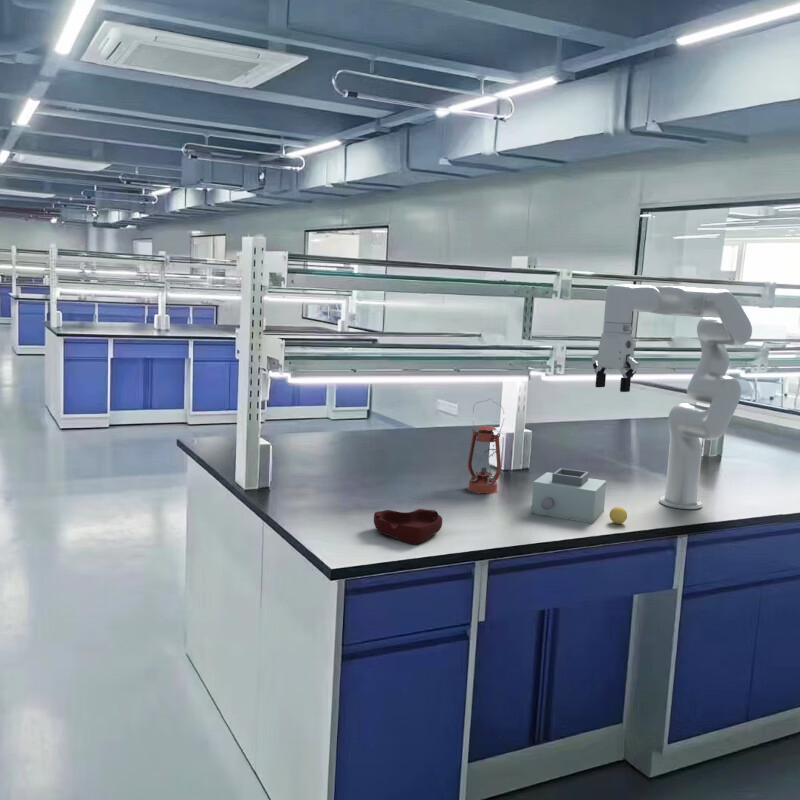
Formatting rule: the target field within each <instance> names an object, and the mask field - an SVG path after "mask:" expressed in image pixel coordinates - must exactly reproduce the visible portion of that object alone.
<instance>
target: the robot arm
mask: <svg viewBox="0 0 800 800" xmlns="http://www.w3.org/2000/svg"><path fill="white" fill-rule="evenodd" d="M604 301H605V304H604V314H603V328H602V333H601V336H600V339H599V345H598V351H597V354H595V355H593V356H591V361H592V366H593V369H594V374H595V375H596V376H595V388H605V387H606V377H607V374H606V371H607V369H608V370H614V371H619V372H620V375H621V376H622V377H621V378H620V386H619V392H620V393H630V390H631V382H632V378H633V377H634V375H635V374H636V373H637V370H638V368H639V365H640V364H639V362H638V361H637V360H635V348H634V347H635V346H634V336H633V335H632V334H631V332H632V331H633V326H632V321H633V312H638V313H639V312H640V313H651V314H656V315H663V316H678V317H679V316H680V317H681V316H682V317H691V318H692V317H695V318H696V317H697V318H701V319H699V320H698V323H697V325H696V333H697V338H698V340H699V343H700V348H701V349H700V350H701V355H700V359H699V362H698V364H697V366H696V367H695V371H694V373H693V375H692V377H691V378H690V381H689V384H688V386H687V388H686V395H687V397H688V399H690V400H691V401H693V402H694V404H693V403H689V402H688V403H685V402H683V403H682V402H681V403H679V404H675V405H674V406H673V407H672V408H671V410H670V411H669V413H668V418H667V419H668V421H667V422H668V428H669V430H668V431H669V447H668V448H669V449H668V459H667V469H666V470H667V471H666V481H665V492H664V495H661V496H660V497H659V499H658V500H659V503H660V504H662V505H664V506H666V507H670V508H674V509H680V510H699V509H701V508H702V507H703V502H702V501H701V500H700V499H698V497H699V494H698V493H699V486H700V485H699V483H700V474H701V464H702V455H703V449H702V448H703V447H702V444H701V440H700V439H702V440H707V441H716V440H718V439H720V438H721V437H722V436H723V435H724V434H725V432H726V431H727V429H728V427H729V424H730V422H731V420H732V418H733V415H734V413H735V412H736V409H737V407H738V405H739V402H740V400H741V395H742V387H741V385H740V384H741V383H740V382H739V381H738V379H737V378H735V377H732V376H729V375H726V374H727V372H728V369H729V366H730V356H729V353H728V350H727V347H726V345H728V346H735V347H736V346H743V345H745V344H747V343H748V342H749V341H750V340H751V338H752V335H753V327H752V323H751V321H750V319H749V317H748V316H747V313H746V312H745V311H744V309H743V307H742V305H741V304H740V301H738V298H736V297H735V295H734V294H733V293H732V292H731V291H729V290H727V289H724V288H723V289H721V288H719V289H718V288H717V289H716V288H700V287H699V288H698V287H686V286H677V285H675V286H674V285H671V286H669V285H668V286H667V285H665V286H652V285H648V284H646V285H645V284H610V285H608V286H607V287H606V291H605V300H604ZM695 402H696V403H698V404H702V405H703V406H702V405H698V404H695ZM704 405H709V406H704Z"/></svg>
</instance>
